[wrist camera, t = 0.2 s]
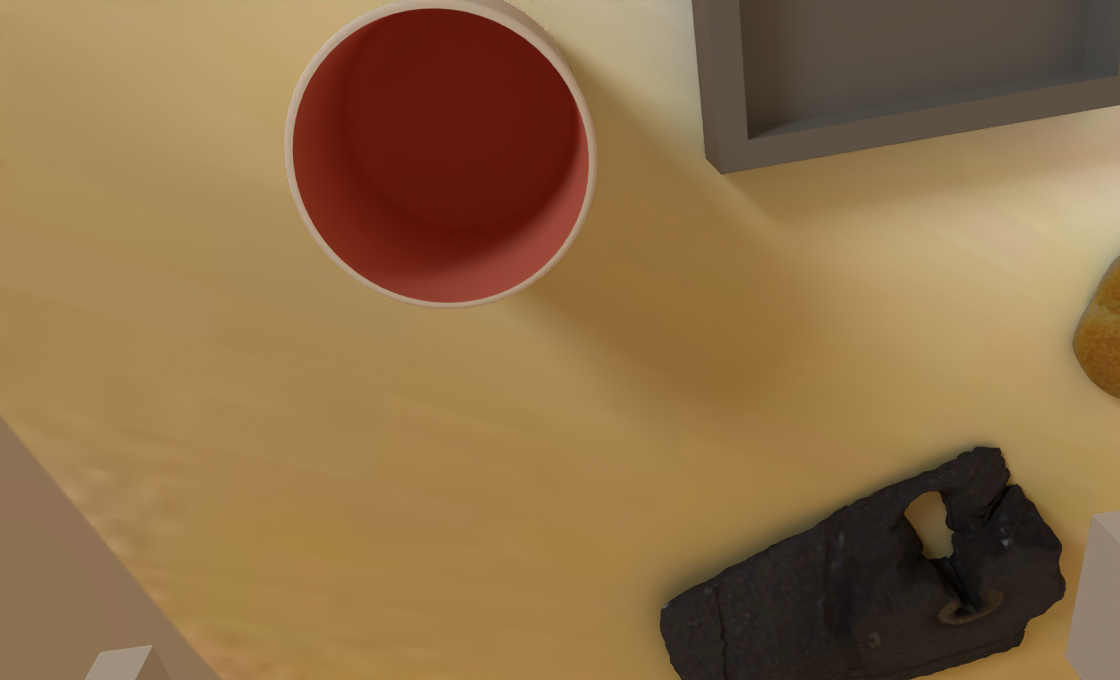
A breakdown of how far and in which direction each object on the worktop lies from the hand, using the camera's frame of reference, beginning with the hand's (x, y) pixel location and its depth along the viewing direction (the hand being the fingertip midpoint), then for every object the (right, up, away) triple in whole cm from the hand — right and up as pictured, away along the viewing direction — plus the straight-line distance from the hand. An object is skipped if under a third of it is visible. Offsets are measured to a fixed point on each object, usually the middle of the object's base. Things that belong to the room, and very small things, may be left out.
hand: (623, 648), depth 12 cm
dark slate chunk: (+16, -10, +36) cm, 41 cm away
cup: (-5, +14, +24) cm, 28 cm away
